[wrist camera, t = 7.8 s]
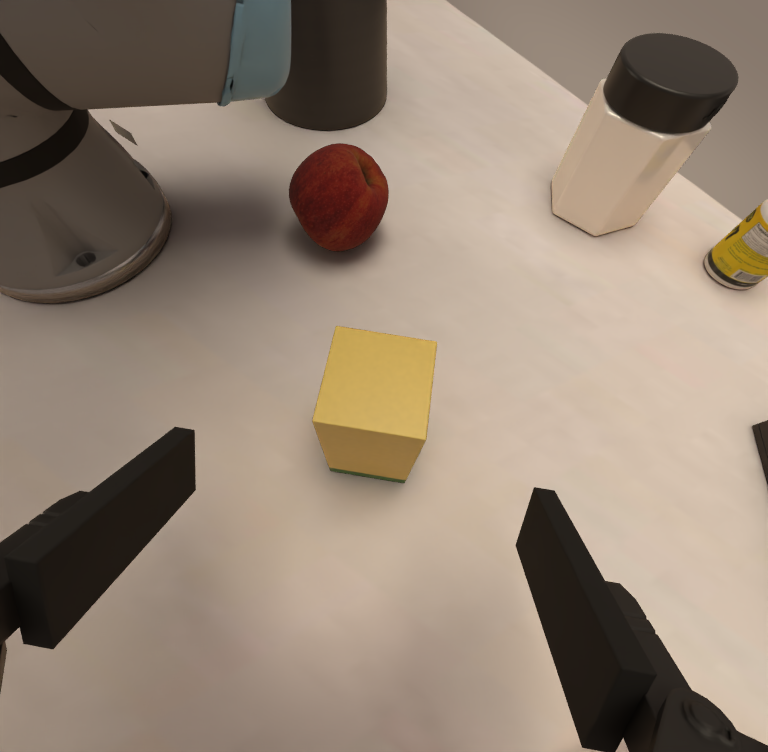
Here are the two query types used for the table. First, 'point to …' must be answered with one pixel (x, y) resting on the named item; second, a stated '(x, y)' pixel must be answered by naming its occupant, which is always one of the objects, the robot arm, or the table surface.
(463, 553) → the table surface
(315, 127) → the vase
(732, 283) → the supplement bottle
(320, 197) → the apple
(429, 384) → the sponge
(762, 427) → the pan
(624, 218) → the jar
